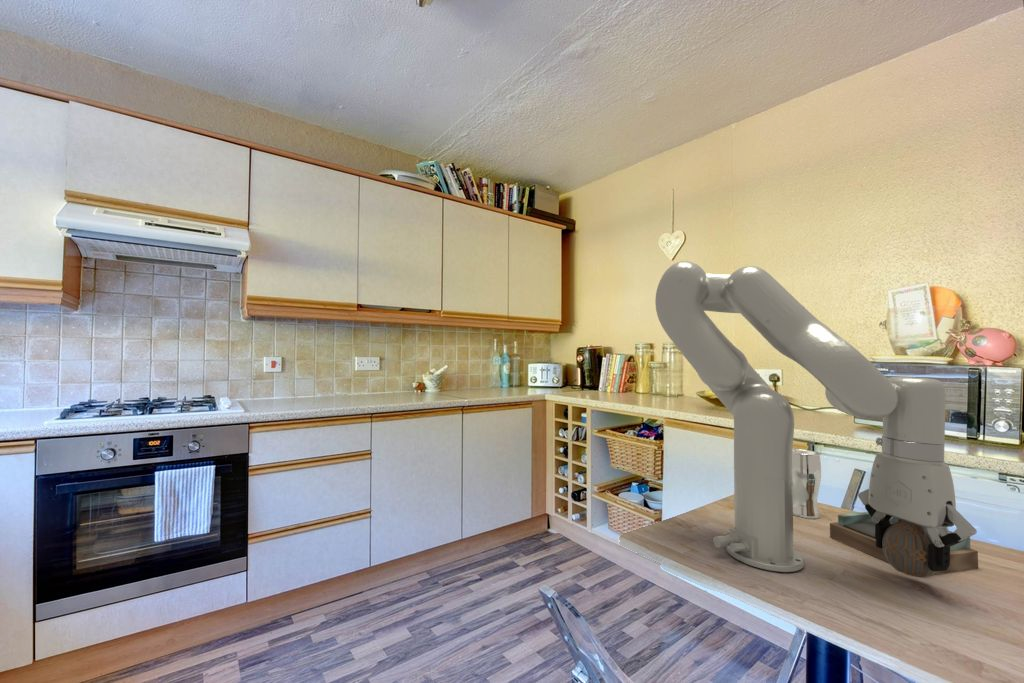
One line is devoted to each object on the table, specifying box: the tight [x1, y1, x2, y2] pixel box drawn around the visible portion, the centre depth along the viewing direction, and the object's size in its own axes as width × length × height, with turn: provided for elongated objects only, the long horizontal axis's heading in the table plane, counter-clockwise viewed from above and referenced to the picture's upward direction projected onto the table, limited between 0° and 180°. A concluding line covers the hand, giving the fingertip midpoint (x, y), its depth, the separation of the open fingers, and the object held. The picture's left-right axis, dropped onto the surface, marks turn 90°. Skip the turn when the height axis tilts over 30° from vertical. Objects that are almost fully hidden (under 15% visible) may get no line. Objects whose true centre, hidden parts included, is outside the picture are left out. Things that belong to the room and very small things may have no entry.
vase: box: [882, 519, 935, 579], centre depth 69 cm, size 7×7×9 cm
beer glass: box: [792, 448, 822, 520], centre depth 101 cm, size 7×7×15 cm
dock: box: [829, 511, 979, 576], centre depth 81 cm, size 14×16×5 cm
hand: (909, 557), depth 69 cm, fingers closed on vase, 6 cm apart
